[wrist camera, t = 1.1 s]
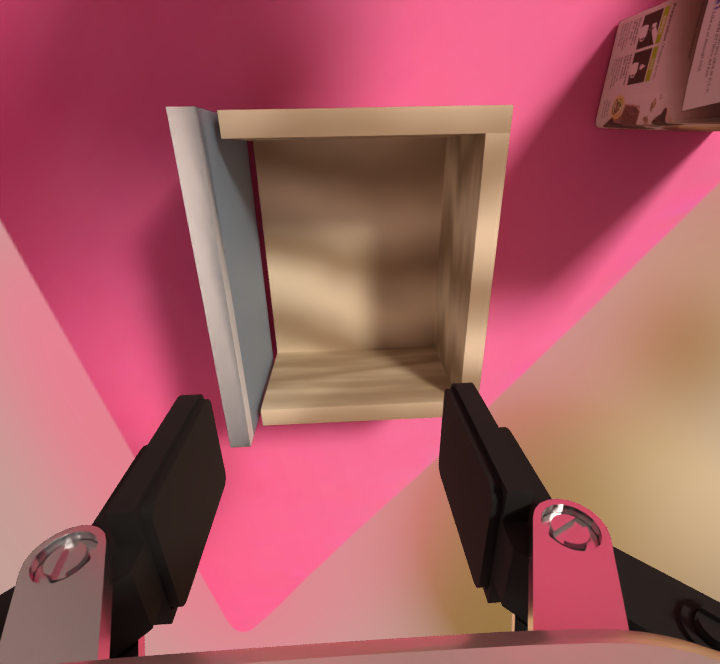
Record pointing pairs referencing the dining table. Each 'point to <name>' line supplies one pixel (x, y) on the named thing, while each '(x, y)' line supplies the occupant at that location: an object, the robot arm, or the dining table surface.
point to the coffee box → (665, 70)
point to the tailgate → (226, 262)
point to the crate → (376, 253)
